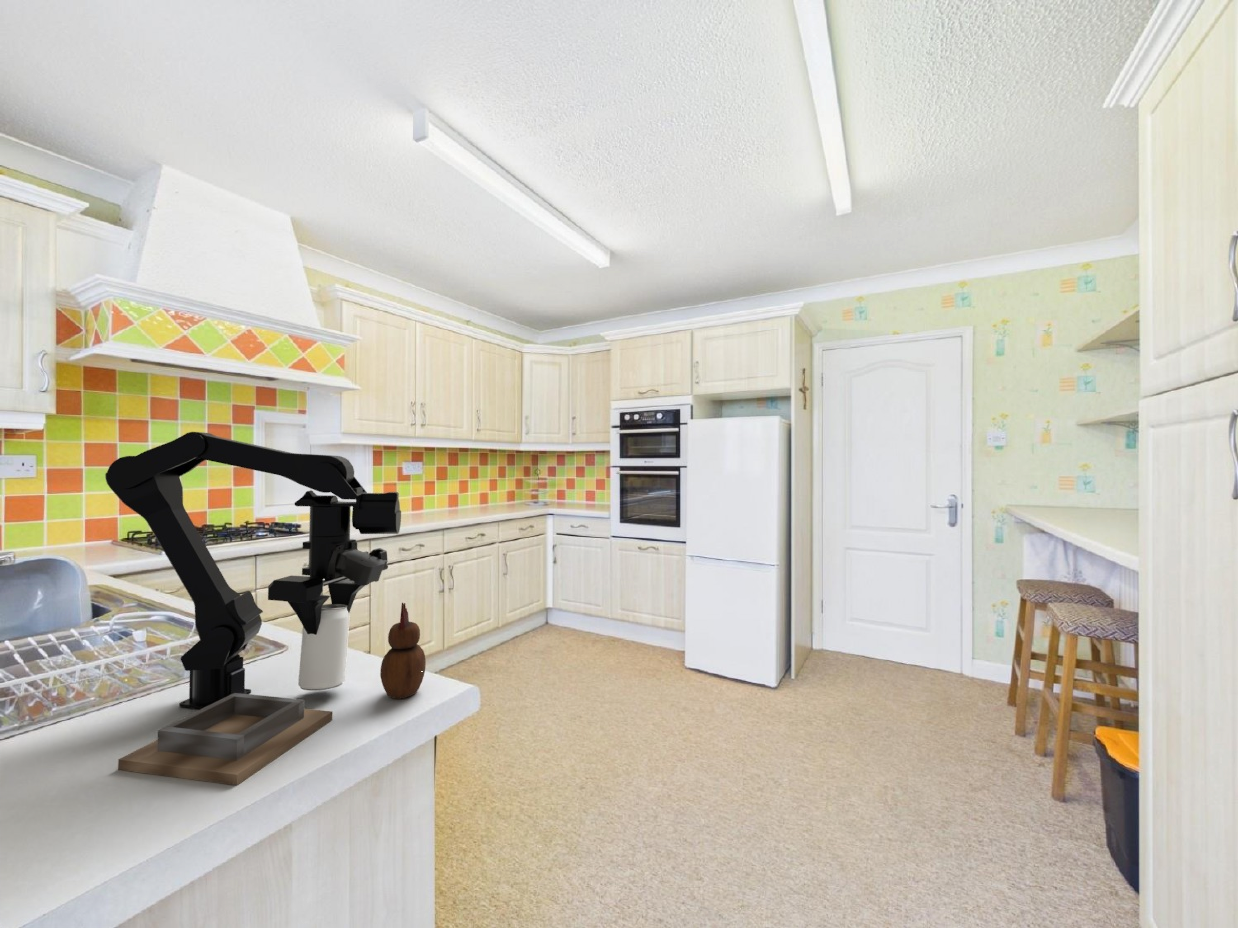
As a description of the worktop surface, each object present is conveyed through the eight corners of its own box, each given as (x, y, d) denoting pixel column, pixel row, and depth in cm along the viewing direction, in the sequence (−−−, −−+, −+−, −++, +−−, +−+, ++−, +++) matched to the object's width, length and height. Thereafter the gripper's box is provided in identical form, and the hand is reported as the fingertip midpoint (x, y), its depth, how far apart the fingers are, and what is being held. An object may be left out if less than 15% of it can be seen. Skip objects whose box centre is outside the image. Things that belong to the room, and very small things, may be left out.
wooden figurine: (407, 705, 83) (409, 606, 83) (373, 700, 84) (375, 603, 84) (431, 687, 90) (433, 595, 90) (399, 683, 91) (401, 593, 91)
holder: (118, 769, 64) (118, 738, 64) (233, 709, 80) (234, 684, 80) (237, 785, 62) (237, 752, 62) (332, 719, 78) (332, 693, 78)
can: (354, 681, 88) (359, 604, 89) (322, 692, 81) (329, 610, 83) (320, 677, 89) (326, 602, 91) (287, 688, 83) (294, 608, 85)
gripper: (336, 545, 76) (334, 657, 76) (408, 529, 95) (406, 619, 95) (265, 542, 78) (263, 651, 78) (350, 526, 96) (348, 615, 96)
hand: (327, 632), depth 87 cm, fingers closed on can, 6 cm apart
